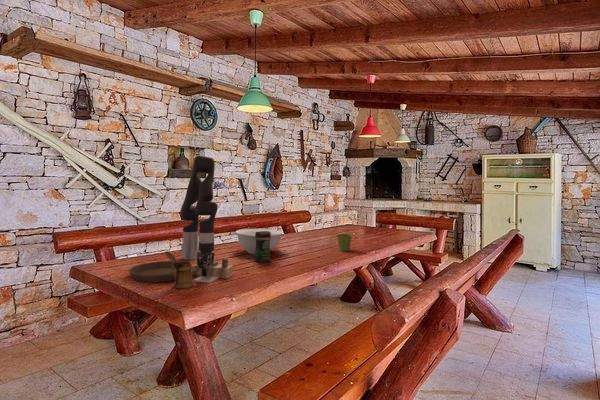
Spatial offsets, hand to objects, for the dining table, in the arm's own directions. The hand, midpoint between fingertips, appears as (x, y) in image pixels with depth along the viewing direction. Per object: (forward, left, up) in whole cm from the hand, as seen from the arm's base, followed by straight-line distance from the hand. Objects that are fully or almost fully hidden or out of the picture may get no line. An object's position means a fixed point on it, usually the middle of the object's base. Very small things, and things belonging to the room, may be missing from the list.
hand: (206, 274), depth 188 cm
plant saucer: (-26, +1, -3) cm, 26 cm away
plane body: (-1, +9, -2) cm, 9 cm away
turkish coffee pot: (-6, -15, -3) cm, 16 cm away
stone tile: (0, 0, -2) cm, 2 cm away
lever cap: (0, 0, 0) cm, 0 cm away
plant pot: (+58, +99, -3) cm, 115 cm away
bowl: (+2, +73, -3) cm, 73 cm away
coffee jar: (+13, +49, -3) cm, 51 cm away
